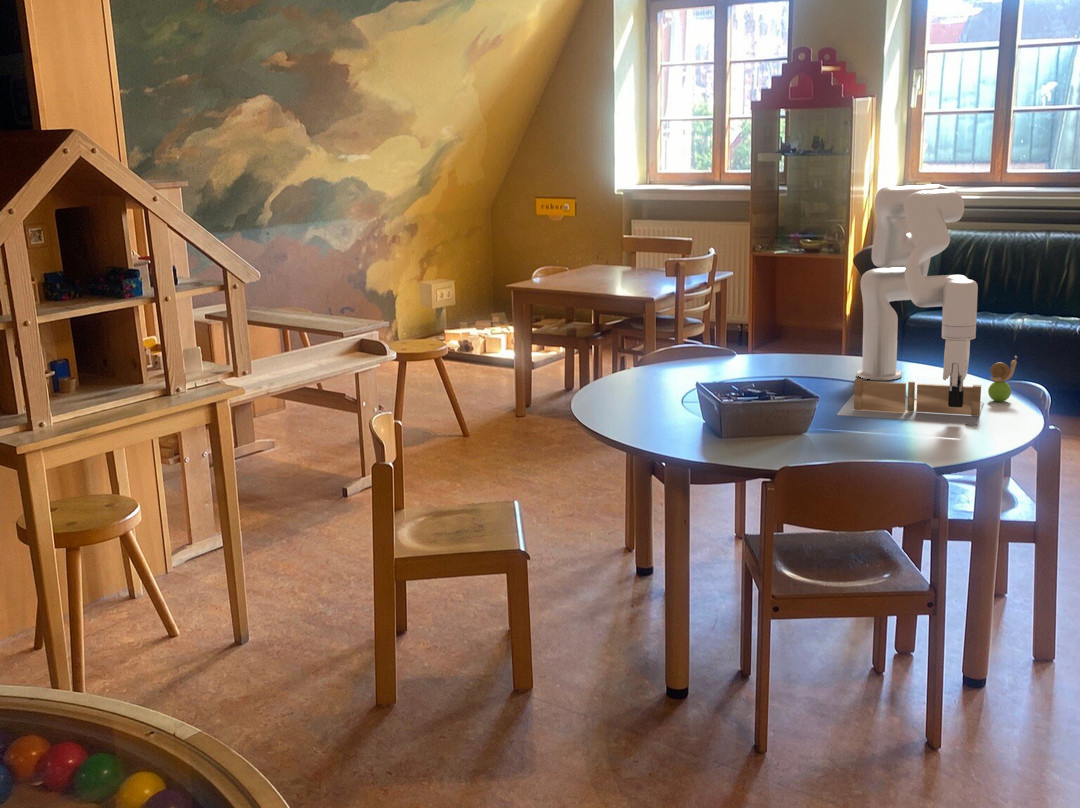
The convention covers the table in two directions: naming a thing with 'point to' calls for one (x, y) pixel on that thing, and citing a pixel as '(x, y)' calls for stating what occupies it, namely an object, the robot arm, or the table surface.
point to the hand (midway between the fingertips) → (955, 406)
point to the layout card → (909, 414)
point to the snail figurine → (1001, 381)
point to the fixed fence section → (879, 396)
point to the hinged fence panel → (943, 399)
